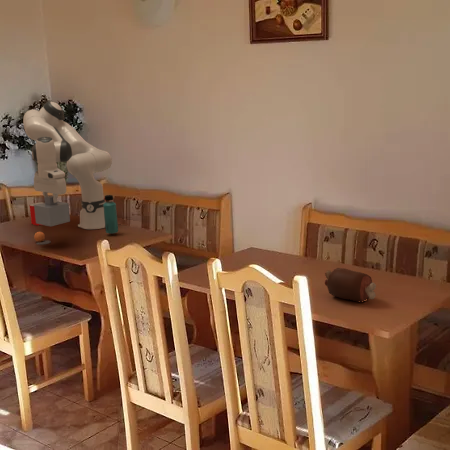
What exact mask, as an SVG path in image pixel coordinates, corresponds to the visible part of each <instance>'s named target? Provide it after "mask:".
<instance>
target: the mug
mask: <svg viewBox="0 0 450 450" xmlns="http://www.w3.org/2000/svg"><path fill="white" fill-rule="evenodd" d="M41 203H43V202H36V203H35V202H34V203H31V204H29V206H28V207H29V212H30V221H31V225H32V224H33V226H39V225H41V224H36V218H35V209H34V205H37V204H41ZM41 226H42V225H41ZM39 227H40V226H39Z"/></svg>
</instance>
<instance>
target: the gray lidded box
mask: <svg viewBox="0 0 450 450" xmlns="http://www.w3.org/2000/svg"><path fill="white" fill-rule="evenodd" d="M43 197H44V196H43ZM52 199H53V195H48V197H44V202H42V203H41V204H37V205H34V209H35V218H36V224H41V226H46V227H54V226H57V225H62V224H65V223H70V222H71V217H70V216H71V215H70V204H69V203H68V202H63V201H59V200H57V202H56V203H53V202H52Z"/></svg>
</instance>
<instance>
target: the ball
mask: <svg viewBox="0 0 450 450" xmlns="http://www.w3.org/2000/svg"><path fill="white" fill-rule="evenodd" d="M45 235H46V234H45V233H44V232H42V231H37V232H35V234H34V236H33V238H34V240H35V241H36V242H42V241H45V238H46V236H45Z"/></svg>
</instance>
